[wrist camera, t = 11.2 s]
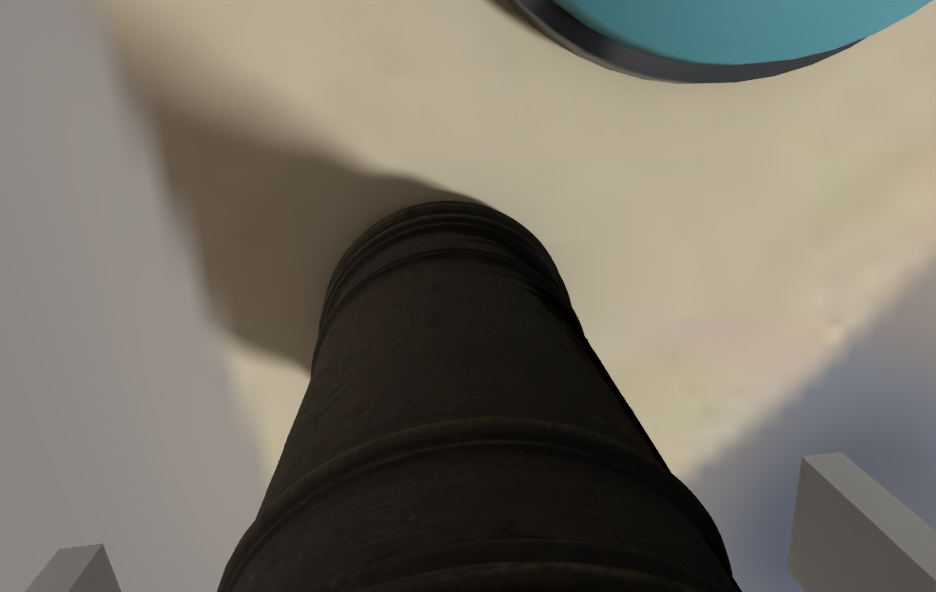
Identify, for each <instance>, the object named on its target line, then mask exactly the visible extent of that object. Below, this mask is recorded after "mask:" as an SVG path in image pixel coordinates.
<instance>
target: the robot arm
mask: <svg viewBox="0 0 936 592" xmlns="http://www.w3.org/2000/svg"><path fill="white" fill-rule="evenodd" d="M787 569H788V570H789V571H790V572H791V574H792V575H793V576H794V578H795V579H796V580H797V582H798V583H799V584H800V585H801V587H802V588H803V589H804V590H805V592H936V531H935V530H934V529H932V528H931V527H930V526H929V525H927V524H926V523H925V522H924V521H923V520H921V519H920V518H919V517H918V516H916V514H914V513H913V512H912V511H911V510H910V509H908V508H907V507H906V506H904V504H902V503H901V502H900V501H899V500H898V499H896V498H895V497H894V496H893V495H892V494H890V493H889V492H888V491H887V490H886V489H884V488H883V487H882V486H881V485H879V484H878V483H877V482H876V481H875V480H874V479H872V478H871V477H870V476H869V475H868V474H866V473H865V472H864V471H863V470H861V469H860V468H859V467H858V466H857V465H855V464H854V463H853V462H852V461H851V460H849V459H848V458H847V457H846V456H845V455H843V454H842V453H841V452H837V453H830V454H821V455H813V456H805V457H802V462H801V469H800V476H799V484H798V492H797V498H796V506H795V513H794V521H793V528H792V536H791V543H790V550H789V558H788V565H787ZM25 592H121V590H120V588H119V585H118V582H117V580H116V577H115V574H114V572H113V570H112V567H111V564H110V561H109V559H108V557H107V554H106V551H105V549H104V546H103V544H97V545H88V546H81V547H72V548H65V549H59V550H58V551H57V553H56V554H55V555H54V556H53V558H52V559H51V560H50V561H49V562H48V564H47V565H46V566H45V567H44V569H43V570H42V571H41V572H40V574H39V575H38V576H37V577H36V578H35V580H34V581H33V582H32V583H31V585H30V586H29V587H28V588H27V590H26V591H25Z"/></svg>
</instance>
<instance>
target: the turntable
mask: <svg viewBox="0 0 936 592" xmlns="http://www.w3.org/2000/svg"><path fill="white" fill-rule="evenodd" d="M553 1H554V2H555V3H556V4H557V5H559V6H560V7H561V8H563V9H564V10H565V11H567V12H568V13H569V14H571V15H572V16H573V17H575V18H576V19H577V20H579V21H580V22H581V23H583V24H584V25H585V26H587V27H589V28H591V29H593V30H594V31H596V32H598V33H600V34H602V35H604V36H605V37H607V38H609V39H611V40H613V41H614V42H616V43H618V44H620V45H623V46H626V47H629V48H631V49H634V50H637V51H640V52H642V53H645V54H648V55H651V56H653V57H658V58H663V59H668V60H673V61H678V62H683V63H687V64H701V65H722V66H729V65H740V64H750V63H761V62H771V61H781V60H791V59H797V58H801V57H805V56H809V55H813V54H817V53H822V52H826V51H830V50H834V49H836V48H839V47H842V46H844V45H847V44H849V43H852V42H855V41H857V40H860V39H862V38H865V37H868V36H870V35H873V34H875V33H877V32H879V31H881V30H882V29H884V28H886V27H888V26H890V25H892V24H894V23H896V22H898V21H899V20H901V19H903V18H905V17H907V16H909V15H911V14H913V13H914V12H916V11H917V10H919V9H920V8H922V7H923V6H924V5H926V4H927V3H929V2H930V1H932V0H553Z"/></svg>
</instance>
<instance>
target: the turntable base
mask: <svg viewBox="0 0 936 592" xmlns="http://www.w3.org/2000/svg"><path fill="white" fill-rule="evenodd" d="M508 1H509V2H510V4H511V5H512V6H513V7H514V8H515V9H516V10H517V11H518V12H519V13H520V14H522V15H523V16H524V17H525V18H526V19H527V20H529V21H530V22H531V23H532V24H533V25H534V26H536V27H537V28H538V29H539V30H540V31H541V32H543V33H544V34H545V35H546V36H548V37H549V38H551V39H553V40H554V41H556V42H557V43H559V44H560V45H562V46H563V47H565V48H567V49H568V50H570V51H571V52H573V53H574V54H576V55H578V56H580V57H582V58H585V59H587V60H589V61H591V62H593V63H596V64H598V65H600V66H602V67H605V68H607V69H609V70H612V71H616V72H619V73H623V74H626V75H630V76H633V77H637V78H640V79H645V80H653V81H660V82H668V83H676V84H690V83H727V82H740V81H747V80H753V79H759V78H765V77H771V76H776V75H779V74H782V73H786V72H789V71H792V70H796V69H799V68H802V67H805V66H809V65H812V64H814V63H817V62H819V61H821V60H823V59H825V58H828V57H830V56H832V55H834V54H837V53H839V52H841V51H843V50H845V49H848V48H850V47H852V46H853V45H855V44H857V43H858V42H860V41H862V40H863V39H865V38H867V37H865V38H862V39H860V40H857V41H855V42H852V43H849V44H847V45H844V46H842V47H839V48H836V49H834V50H830V51H826V52H822V53H817V54H813V55H809V56H805V57H801V58H797V59H791V60H781V61H771V62H761V63H750V64H740V65H729V66H722V65H701V64H687V63H683V62H678V61H673V60H668V59H663V58H658V57H653V56H651V55H648V54H645V53H642V52H640V51H637V50H634V49H631V48H629V47H626V46H623V45H620V44H618V43H616V42H614V41H613V40H611V39H609V38H607V37H605V36H604V35H602V34H600V33H598V32H596V31H594V30H593V29H591V28H589V27H587V26H585V25H584V24H583V23H581V22H580V21H579V20H577V19H576V18H575V17H573V16H572V15H571V14H569V13H568V12H567V11H565V10H564V9H563V8H561V7H560V6H559V5H557V4H556V3H555V2H554V1H553V0H508Z"/></svg>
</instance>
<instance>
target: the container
mask: <svg viewBox="0 0 936 592" xmlns="http://www.w3.org/2000/svg"><path fill="white" fill-rule="evenodd" d="M217 592H742V591H741V590H740V588H739V586H738V585H737V583H736V582H735V580H734V578H733V577H732V570H731V566H730V562H729V558H728V555H727V552H726V549H725V546H724V543H723V540H722V537H721V535H720V533H719V531H718V529H717V527H716V525H715V523H714V521H713V519H712V518H711V516H710V515H709V513H708V512H707V510H706V509H705V508H704V506H703V505H702V504H701V503H700V501H699V500H698V499H697V498H696V496H695V495H694V494H693V493H692V492H691V491H690V490H689V489H688V488H687V487H686V486H685V485H684V484H683V483H682V482H681V481H680V480H679V479H678V478H677V477H675V476H674V475H673V474H672V473H671V472H670V470H669V468H668V467H667V465H666V463H665V462H664V460H663V458H662V457H661V455H660V454H659V452H658V450H657V449H656V447H655V446H654V444H653V443H652V441H651V439H650V438H649V436H648V435H647V433H646V432H645V430H644V428H643V427H642V425H641V424H640V422H639V420H638V419H637V417H636V416H635V414H634V412H633V411H632V409H631V408H630V406H629V405H628V403H627V402H626V400H625V399H624V397H623V396H622V394H621V393H620V391H619V390H618V388H617V387H616V385H615V383H614V382H613V381H612V379H611V377H610V375H609V374H608V372H607V371H606V369H605V367H604V366H603V364H602V362H601V361H600V359H599V358H598V356H597V355H596V353H595V352H594V350H593V349H592V347H591V346H590V344H589V342H588V340H587V339H586V338H585V336H584V332H583V329H582V327H581V324H580V322H579V320H578V317H577V315H576V313H575V312H574V310H573V308H572V306H571V302H570V298H569V295H568V292H567V289H566V287H565V284H564V282H563V280H562V278H561V276H560V274H559V272H558V270H557V267H556V265H555V263H554V261H553V260H552V258H551V256H550V255H549V253H548V252H547V250H546V249H545V247H544V246H543V245H542V244H541V242H540V241H539V240H538V239H537V238H536V237H535V236H534V235H533V234H532V233H531V232H530V231H529V230H527V229H526V228H525V227H524V226H522V225H521V224H520V223H518V222H517V221H515V220H514V219H512V218H511V217H509V216H507V215H505V214H503V213H501V212H499V211H497V210H494V209H491V208H489V207H485V206H482V205H478V204H473V203H467V202H458V201H437V202H429V203H423V204H419V205H415V206H411V207H408V208H405V209H403V210H400V211H398V212H395V213H393V214H391V215H389V216H387V217H386V218H384V219H382V220H381V221H379V222H377V223H376V224H374V225H373V226H371V227H370V228H369V229H368V230H366V231H365V232H364V233H363V234H362V235H361V236H360V237H359V238H358V239H357V240H356V241H355V242H354V243H353V244H352V245H351V246H350V247H349V249H348V250H347V251H346V252H345V254H344V255H343V257H342V258H341V260H340V262H339V263H338V265H337V267H336V269H335V271H334V273H333V275H332V277H331V280H330V282H329V285H328V288H327V292H326V296H325V301H324V306H323V309H322V313H321V318H320V324H319V334H318V340H317V343H316V346H315V350H314V354H313V360H312V368H311V380H310V383H309V385H308V388H307V391H306V393H305V396H304V398H303V401H302V403H301V406H300V408H299V411H298V414H297V416H296V418H295V421H294V423H293V426H292V428H291V431H290V433H289V435H288V437H287V441H286V443H285V446H284V449H283V452H282V455H281V457H280V460H279V463H278V465H277V468H276V470H275V472H274V475H273V477H272V479H271V482H270V484H269V486H268V489H267V492H266V495H265V497H264V500H263V502H262V505H261V507H260V510H259V512H258V515H257V517H256V520H255V521H254V522H253V524H252V525H251V526H250V527H249V529H248V530H247V531H246V532H245V534H244V535H243V537H242V538H241V540H240V542H239V543H238V545H237V547H236V549H235V551H234V553H233V554H232V556H231V558H230V560H229V561H228V563H227V565H226V567H225V570H224V573H223V576H222V579H221V582H220V585H219V587H218V590H217Z"/></svg>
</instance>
